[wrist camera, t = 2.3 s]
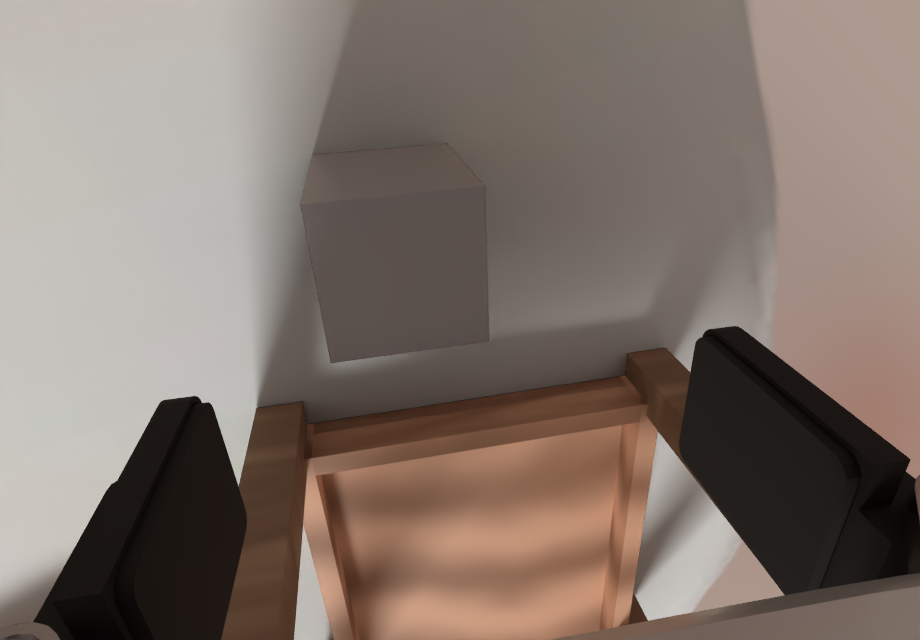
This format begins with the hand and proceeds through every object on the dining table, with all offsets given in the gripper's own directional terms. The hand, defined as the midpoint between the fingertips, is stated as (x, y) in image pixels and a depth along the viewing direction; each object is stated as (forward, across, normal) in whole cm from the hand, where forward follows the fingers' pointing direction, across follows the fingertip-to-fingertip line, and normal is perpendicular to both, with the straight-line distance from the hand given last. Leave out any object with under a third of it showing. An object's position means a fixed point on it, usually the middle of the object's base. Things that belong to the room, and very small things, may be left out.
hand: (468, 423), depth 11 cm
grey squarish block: (+13, +1, 0) cm, 13 cm away
